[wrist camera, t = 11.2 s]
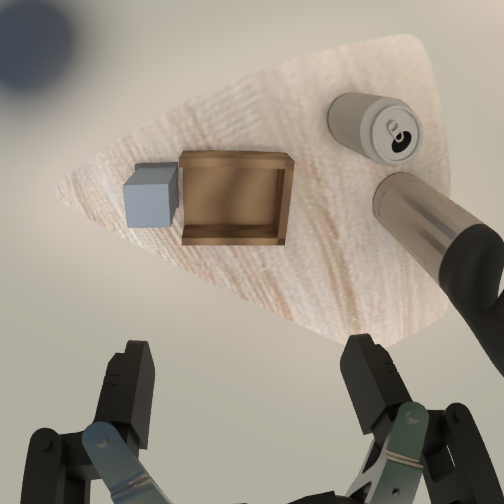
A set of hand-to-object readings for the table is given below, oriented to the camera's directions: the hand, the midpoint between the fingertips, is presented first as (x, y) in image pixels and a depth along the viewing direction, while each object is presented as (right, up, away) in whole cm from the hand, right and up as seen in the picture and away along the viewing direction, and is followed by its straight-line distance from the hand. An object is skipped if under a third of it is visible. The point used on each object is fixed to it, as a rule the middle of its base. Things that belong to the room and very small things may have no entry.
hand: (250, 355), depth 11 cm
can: (+13, +22, +24) cm, 35 cm away
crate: (-2, +12, +28) cm, 30 cm away
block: (-12, +12, +25) cm, 31 cm away
